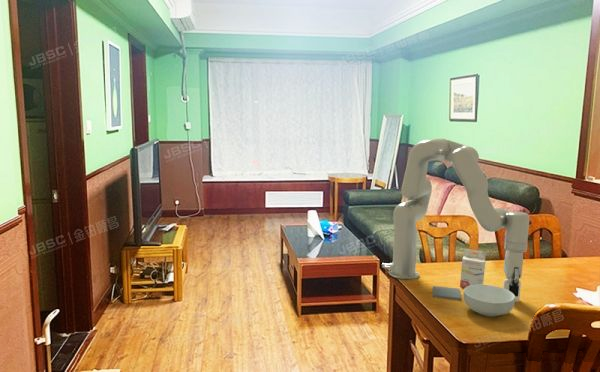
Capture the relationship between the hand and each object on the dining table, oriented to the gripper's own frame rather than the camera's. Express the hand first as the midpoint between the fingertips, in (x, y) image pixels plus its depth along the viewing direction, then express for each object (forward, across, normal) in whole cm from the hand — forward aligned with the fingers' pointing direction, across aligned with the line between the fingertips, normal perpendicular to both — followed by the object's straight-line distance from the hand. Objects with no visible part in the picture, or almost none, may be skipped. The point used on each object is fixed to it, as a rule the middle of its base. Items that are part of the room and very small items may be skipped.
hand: (511, 291), depth 173 cm
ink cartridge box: (+4, -10, -13) cm, 17 cm away
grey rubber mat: (+3, +1, -23) cm, 23 cm away
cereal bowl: (+4, +14, -10) cm, 17 cm away
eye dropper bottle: (+4, 0, 0) cm, 4 cm away
